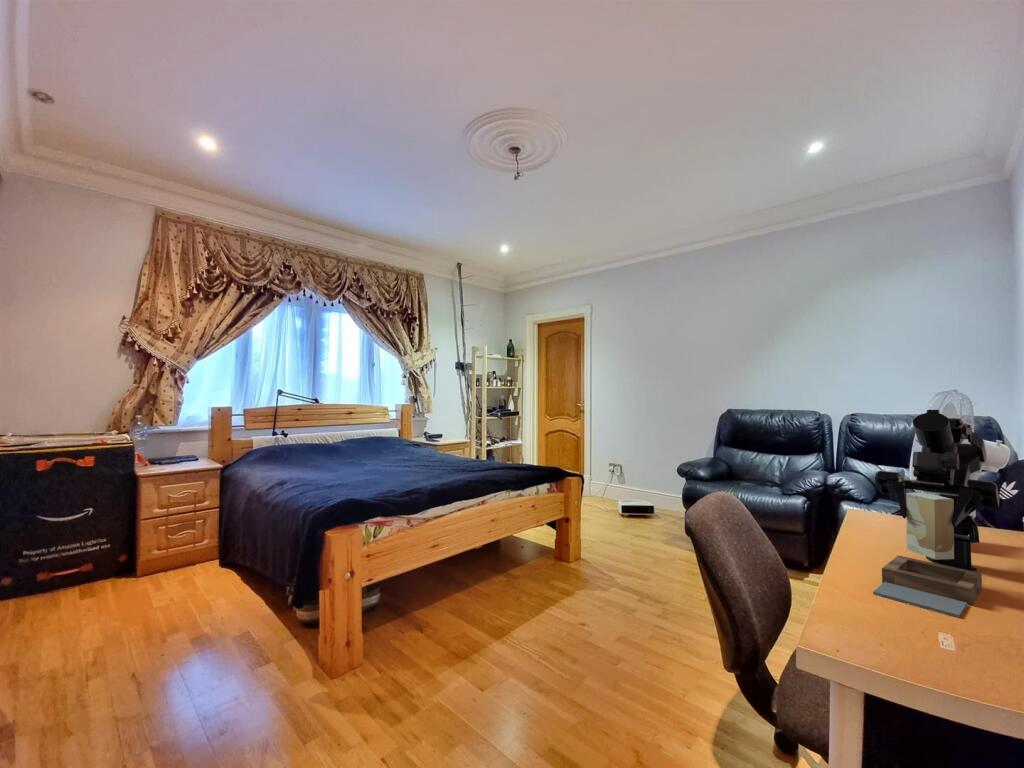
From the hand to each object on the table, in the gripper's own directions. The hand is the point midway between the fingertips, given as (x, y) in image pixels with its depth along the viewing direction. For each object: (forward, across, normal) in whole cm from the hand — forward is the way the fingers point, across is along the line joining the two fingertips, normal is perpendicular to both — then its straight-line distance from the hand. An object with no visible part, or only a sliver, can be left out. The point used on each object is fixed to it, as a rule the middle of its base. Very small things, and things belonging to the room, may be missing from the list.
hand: (927, 521), depth 91 cm
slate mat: (+16, 0, +2) cm, 16 cm away
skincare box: (+4, 0, +6) cm, 7 cm away
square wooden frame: (+9, 0, +10) cm, 13 cm away
